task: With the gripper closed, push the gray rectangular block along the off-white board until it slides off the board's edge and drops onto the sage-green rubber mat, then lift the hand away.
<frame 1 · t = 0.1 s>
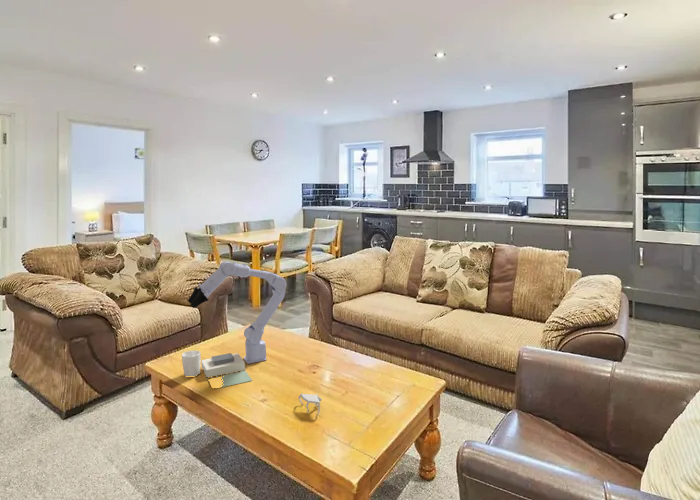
hand: (190, 304, 187), 32 cm above the table, tool tilted 50°, fingers open, 7 cm apart
gray rectangular block: (222, 361, 194), point 4 cm above the table, touching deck
mat: (229, 380, 184), on the table
white cup: (192, 375, 189), on the table
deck: (223, 369, 195), on the table
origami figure: (310, 408, 161), on the table
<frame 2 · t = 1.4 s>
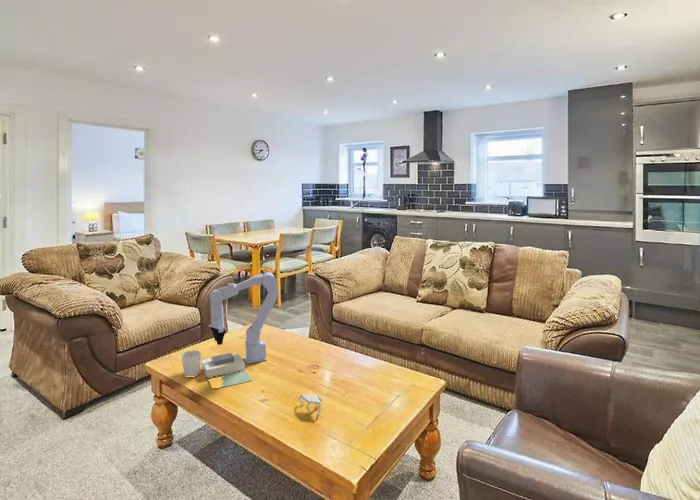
hand: (218, 342, 200), 10 cm above the table, tool pointing down, fingers open, 5 cm apart
nothing on the table moved.
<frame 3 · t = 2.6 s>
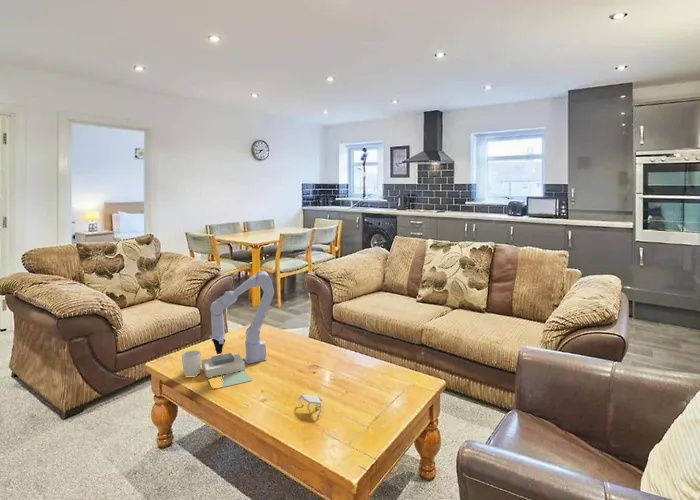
hand: (219, 353, 201), 5 cm above the table, tool pointing down, fingers closed
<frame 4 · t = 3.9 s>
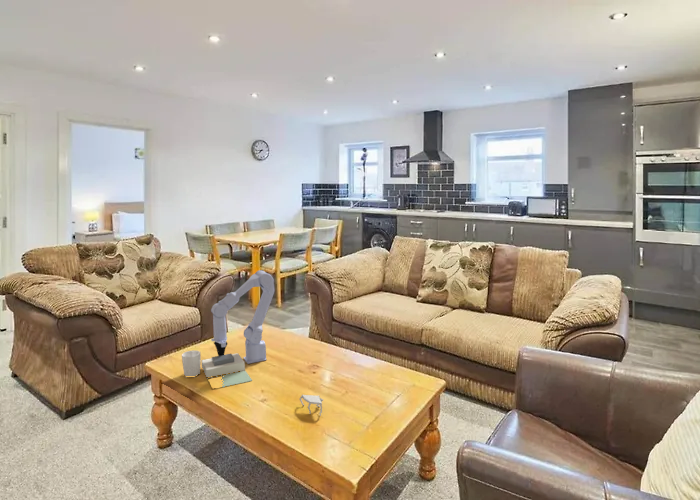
hand: (221, 356, 197), 5 cm above the table, tool pointing down, fingers closed
gray rectangular block: (223, 361, 193), point 4 cm above the table, touching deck, gripper
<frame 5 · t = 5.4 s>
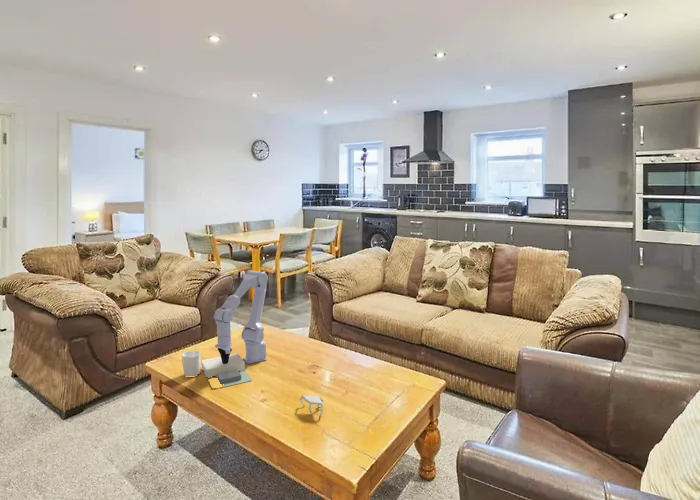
hand: (225, 363, 189), 5 cm above the table, tool pointing down, fingers closed
gray rectangular block: (229, 374, 184), point 2 cm above the table, tilted 180°, touching mat
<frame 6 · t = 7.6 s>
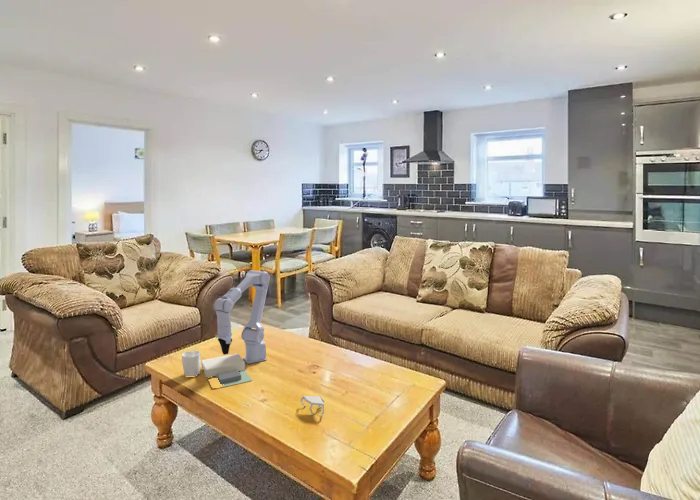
hand: (225, 353, 188), 10 cm above the table, tool pointing down, fingers closed
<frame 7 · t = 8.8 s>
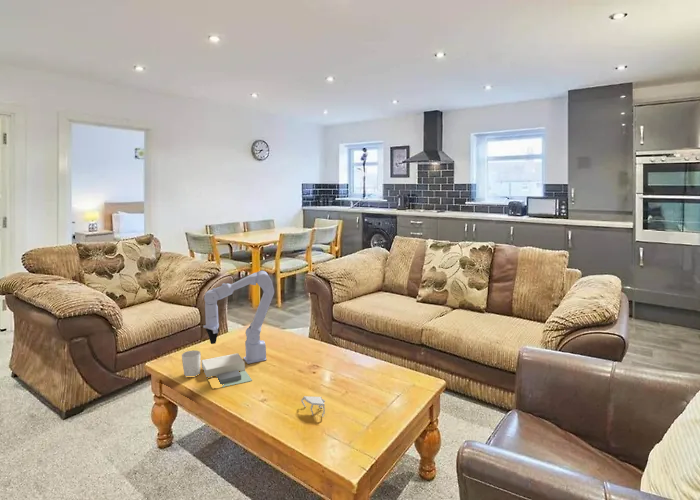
hand: (213, 343, 199), 10 cm above the table, tool pointing down, fingers closed
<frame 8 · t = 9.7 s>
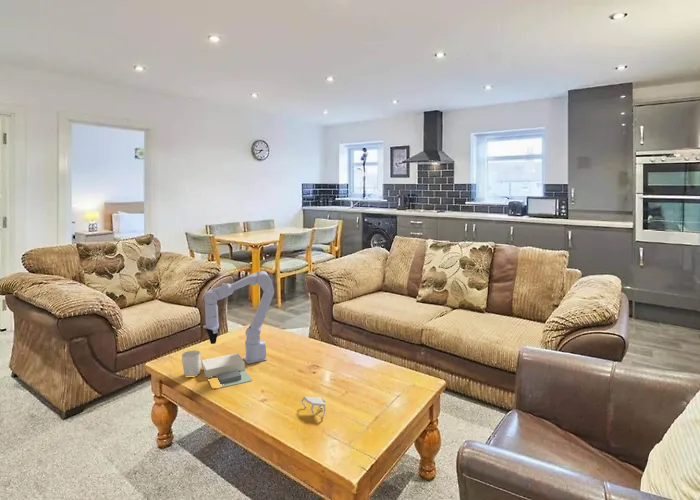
hand: (213, 343, 199), 10 cm above the table, tool pointing down, fingers closed
at the end: gray rectangular block point 2.3 cm above the table; gray rectangular block inside the target area on the mat (0.4 cm from its centre), point 2.3 cm above the mat's base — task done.
